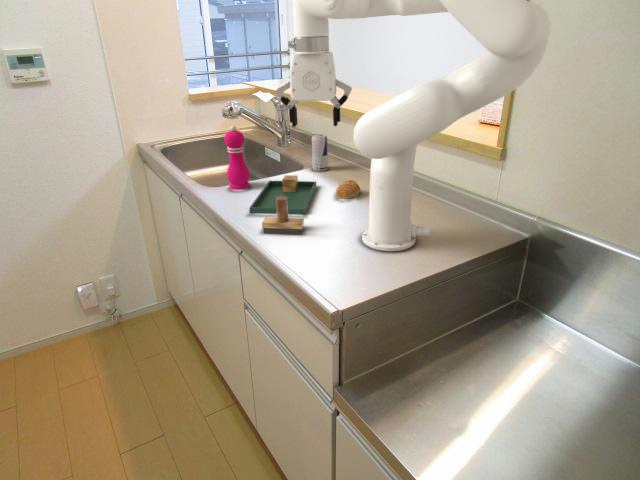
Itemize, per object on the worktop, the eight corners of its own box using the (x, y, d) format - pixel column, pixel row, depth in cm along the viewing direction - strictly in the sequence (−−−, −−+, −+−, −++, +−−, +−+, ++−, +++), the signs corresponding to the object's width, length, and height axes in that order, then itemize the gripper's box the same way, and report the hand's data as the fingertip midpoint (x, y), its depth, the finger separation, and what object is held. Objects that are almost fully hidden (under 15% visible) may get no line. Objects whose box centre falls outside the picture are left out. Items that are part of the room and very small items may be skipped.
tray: (316, 188, 142) (316, 181, 141) (304, 217, 121) (304, 209, 120) (269, 187, 144) (269, 180, 143) (250, 215, 123) (249, 207, 122)
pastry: (353, 202, 130) (353, 190, 129) (331, 200, 132) (331, 188, 131) (361, 191, 138) (361, 179, 137) (340, 190, 140) (339, 178, 139)
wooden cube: (298, 187, 141) (297, 175, 139) (295, 192, 137) (295, 179, 135) (285, 187, 141) (284, 175, 140) (282, 191, 138) (282, 179, 136)
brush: (304, 229, 115) (302, 195, 111) (302, 234, 111) (300, 200, 107) (266, 227, 116) (263, 194, 112) (262, 233, 113) (259, 199, 109)
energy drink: (330, 168, 161) (329, 134, 156) (322, 172, 157) (321, 138, 152) (317, 166, 164) (316, 133, 159) (309, 170, 160) (308, 136, 155)
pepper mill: (253, 185, 147) (247, 122, 138) (248, 192, 140) (241, 127, 132) (231, 184, 148) (224, 123, 139) (225, 192, 141) (217, 128, 132)
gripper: (269, 48, 96) (275, 129, 103) (350, 45, 94) (351, 128, 101) (276, 46, 103) (282, 122, 110) (352, 44, 100) (353, 121, 108)
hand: (315, 125), depth 106 cm, fingers open, 9 cm apart
